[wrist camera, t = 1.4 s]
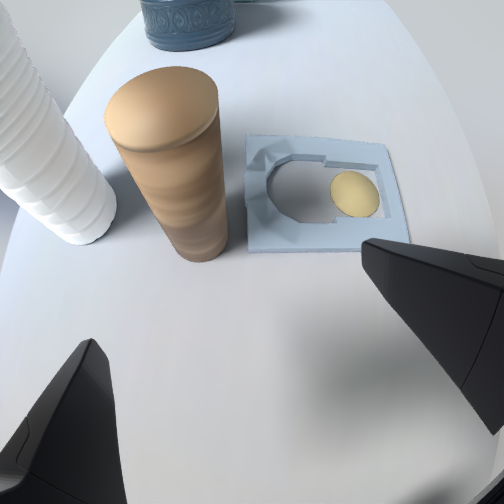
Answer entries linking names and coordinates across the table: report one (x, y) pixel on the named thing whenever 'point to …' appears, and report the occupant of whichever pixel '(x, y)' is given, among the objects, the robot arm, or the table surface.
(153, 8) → the canister
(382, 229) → the keyhole plate
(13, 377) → the table surface
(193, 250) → the tan peg
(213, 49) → the table surface
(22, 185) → the water bottle
